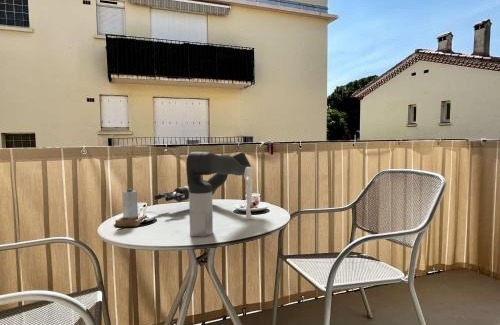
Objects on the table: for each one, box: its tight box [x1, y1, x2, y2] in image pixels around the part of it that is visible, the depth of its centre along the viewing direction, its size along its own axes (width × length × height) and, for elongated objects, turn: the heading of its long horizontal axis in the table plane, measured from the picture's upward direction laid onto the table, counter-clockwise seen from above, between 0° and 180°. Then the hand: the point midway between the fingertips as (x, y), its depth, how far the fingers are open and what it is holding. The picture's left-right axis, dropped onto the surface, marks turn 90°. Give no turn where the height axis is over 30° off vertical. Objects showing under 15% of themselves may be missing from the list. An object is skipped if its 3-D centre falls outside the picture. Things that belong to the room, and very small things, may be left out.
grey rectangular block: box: [121, 188, 139, 220], centre depth 142 cm, size 4×4×15 cm
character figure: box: [243, 166, 255, 220], centre depth 148 cm, size 24×5×25 cm, turn 0°
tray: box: [114, 214, 148, 227], centre depth 142 cm, size 10×10×2 cm
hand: (160, 198), depth 156 cm, fingers open, 8 cm apart
